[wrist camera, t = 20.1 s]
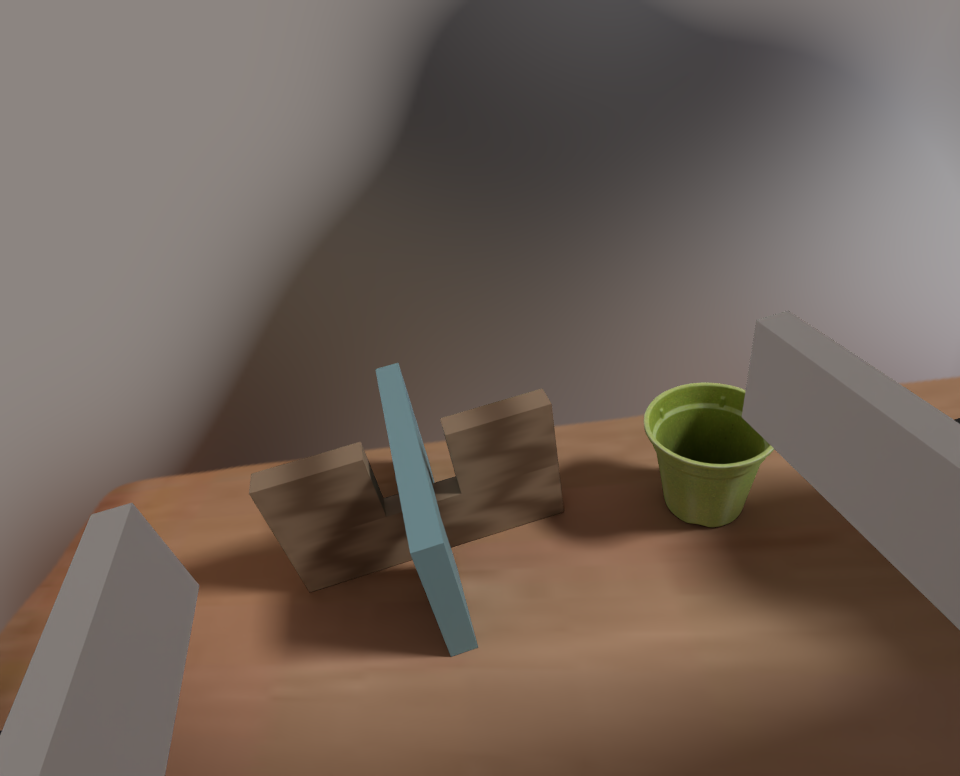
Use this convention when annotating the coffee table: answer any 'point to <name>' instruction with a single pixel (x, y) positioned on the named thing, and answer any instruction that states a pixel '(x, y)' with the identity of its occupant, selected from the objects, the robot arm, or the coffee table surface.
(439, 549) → the slotted plate
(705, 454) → the plant pot
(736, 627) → the coffee table surface
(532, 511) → the walnut board
